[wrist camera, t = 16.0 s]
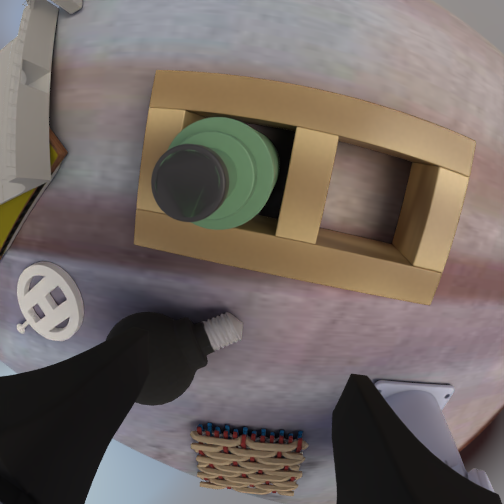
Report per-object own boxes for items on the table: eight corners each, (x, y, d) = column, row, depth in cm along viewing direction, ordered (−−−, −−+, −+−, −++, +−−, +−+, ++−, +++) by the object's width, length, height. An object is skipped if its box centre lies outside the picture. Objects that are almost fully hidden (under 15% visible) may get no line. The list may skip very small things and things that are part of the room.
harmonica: (-27, 246, 21) (-14, 238, 23) (-11, 271, 22) (2, 262, 23) (36, 124, 16) (53, 122, 18) (58, 154, 17) (74, 151, 19)
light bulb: (270, 380, 18) (121, 432, 16) (253, 351, 24) (138, 394, 23) (228, 281, 18) (73, 342, 16) (221, 275, 24) (103, 322, 22)
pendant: (45, 247, 21) (51, 244, 22) (-3, 299, 24) (2, 296, 25) (94, 323, 23) (99, 318, 23) (36, 357, 25) (41, 353, 26)
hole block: (408, 278, 19) (430, 306, 16) (160, 226, 20) (133, 244, 16) (444, 140, 16) (476, 141, 12) (181, 83, 17) (155, 69, 13)
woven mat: (296, 499, 26) (297, 484, 28) (310, 446, 22) (310, 429, 24) (199, 489, 27) (203, 475, 29) (186, 434, 24) (192, 418, 26)
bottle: (272, 208, 19) (251, 274, 9) (201, 194, 19) (113, 243, 9) (286, 135, 18) (281, 117, 8) (213, 123, 18) (127, 99, 8)
